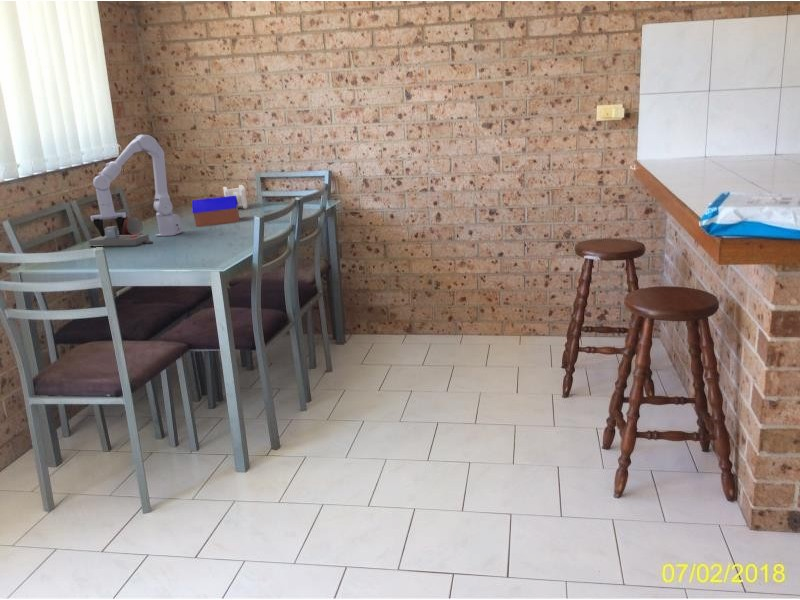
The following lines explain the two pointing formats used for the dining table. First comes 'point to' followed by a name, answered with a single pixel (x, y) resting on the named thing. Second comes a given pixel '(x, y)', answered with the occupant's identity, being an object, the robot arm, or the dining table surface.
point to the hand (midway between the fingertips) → (112, 235)
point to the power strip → (122, 240)
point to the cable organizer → (237, 195)
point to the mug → (132, 227)
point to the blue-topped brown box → (215, 211)
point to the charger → (111, 232)
